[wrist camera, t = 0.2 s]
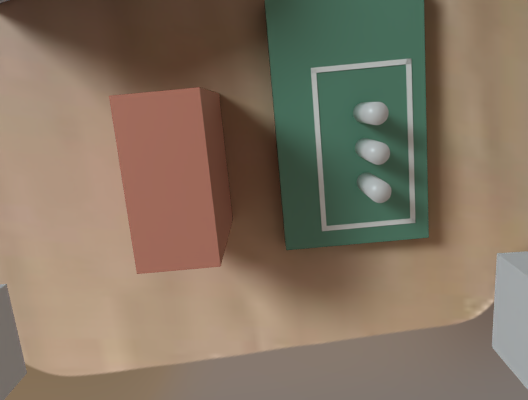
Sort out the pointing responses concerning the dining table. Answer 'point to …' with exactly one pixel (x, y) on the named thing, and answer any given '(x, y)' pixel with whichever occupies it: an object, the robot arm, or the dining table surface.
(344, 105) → the board
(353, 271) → the dining table surface
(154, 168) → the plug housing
